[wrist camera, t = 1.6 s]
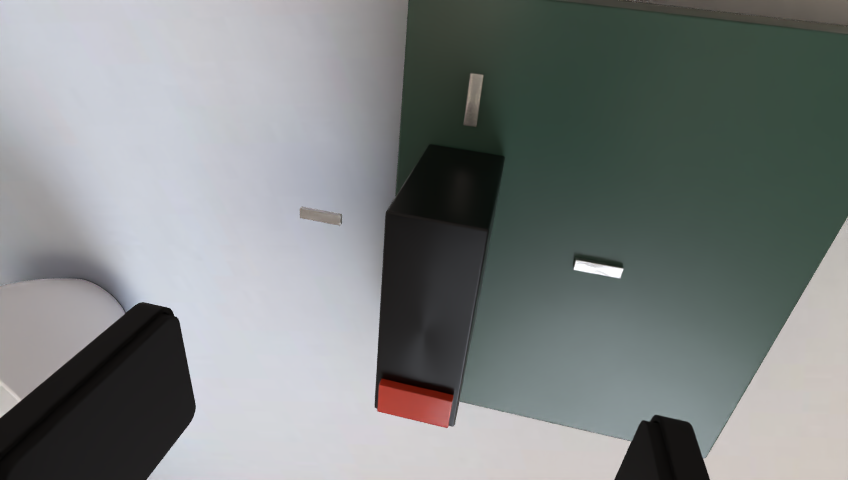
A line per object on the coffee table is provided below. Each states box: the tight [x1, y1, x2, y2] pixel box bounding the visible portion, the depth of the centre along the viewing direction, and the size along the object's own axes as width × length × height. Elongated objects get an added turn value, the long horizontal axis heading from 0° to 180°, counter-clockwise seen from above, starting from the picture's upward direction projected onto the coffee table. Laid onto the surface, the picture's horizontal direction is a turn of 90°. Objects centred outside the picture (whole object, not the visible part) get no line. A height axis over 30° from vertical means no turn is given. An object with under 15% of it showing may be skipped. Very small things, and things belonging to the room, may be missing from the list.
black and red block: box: [375, 144, 505, 428], centre depth 14 cm, size 6×2×5 cm, turn 175°
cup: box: [0, 278, 125, 418], centre depth 23 cm, size 8×10×7 cm
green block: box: [300, 0, 848, 458], centre depth 17 cm, size 14×15×3 cm
